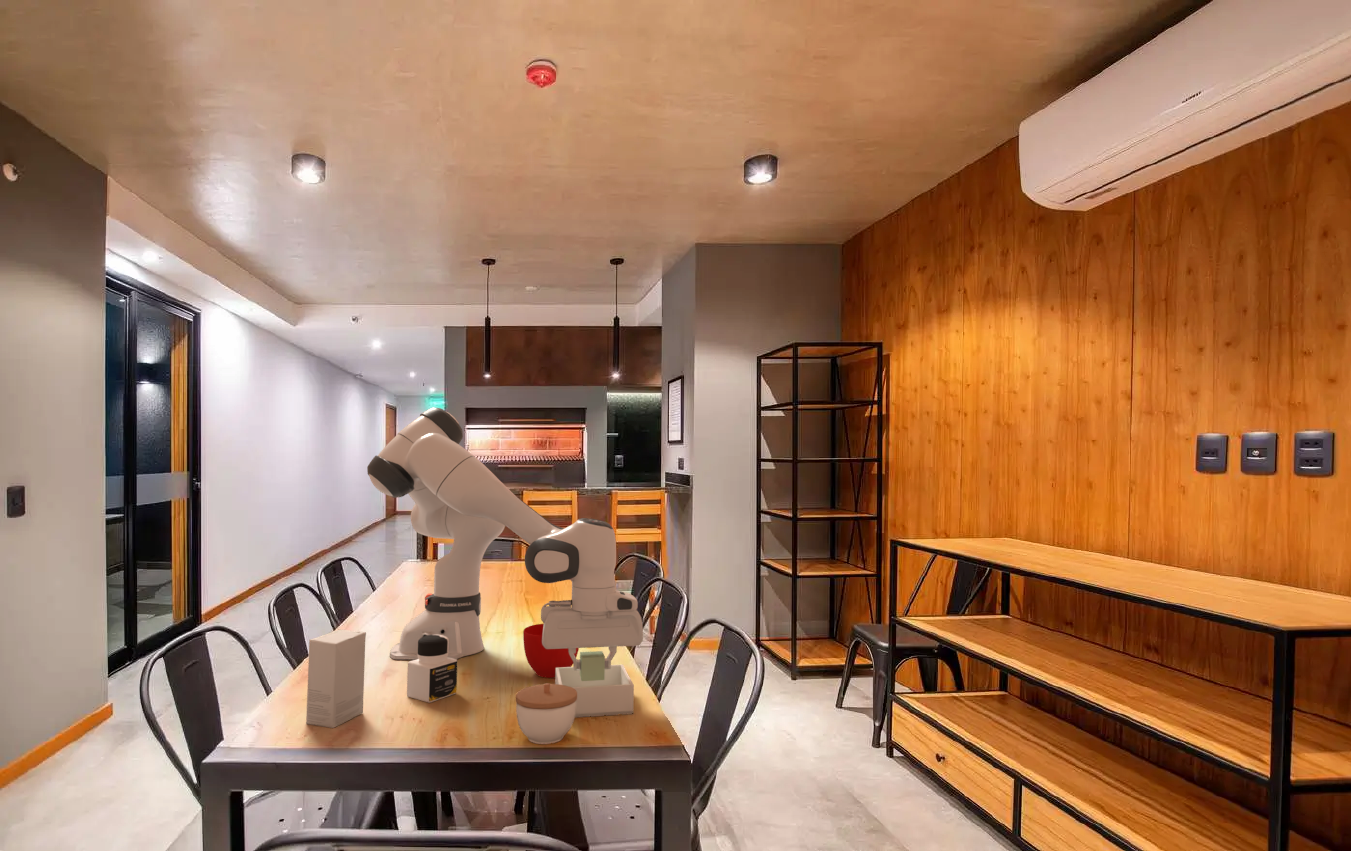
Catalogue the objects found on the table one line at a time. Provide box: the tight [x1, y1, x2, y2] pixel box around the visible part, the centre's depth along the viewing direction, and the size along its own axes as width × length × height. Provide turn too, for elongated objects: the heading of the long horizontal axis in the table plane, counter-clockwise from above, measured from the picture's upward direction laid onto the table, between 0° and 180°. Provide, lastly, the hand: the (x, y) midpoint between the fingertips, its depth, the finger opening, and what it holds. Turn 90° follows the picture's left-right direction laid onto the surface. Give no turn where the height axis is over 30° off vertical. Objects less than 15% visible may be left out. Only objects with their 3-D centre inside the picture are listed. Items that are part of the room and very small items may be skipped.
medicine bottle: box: [406, 635, 458, 704], centre depth 150 cm, size 7×7×12 cm
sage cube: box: [579, 650, 606, 681], centre depth 146 cm, size 4×4×4 cm
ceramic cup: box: [522, 623, 580, 679], centre depth 168 cm, size 13×17×10 cm
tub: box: [554, 663, 635, 718], centre depth 146 cm, size 14×14×6 cm
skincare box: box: [305, 629, 367, 729], centre depth 136 cm, size 8×7×16 cm
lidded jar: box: [515, 682, 577, 745], centre depth 128 cm, size 11×11×9 cm
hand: (592, 669), depth 146 cm, fingers closed on sage cube, 4 cm apart
